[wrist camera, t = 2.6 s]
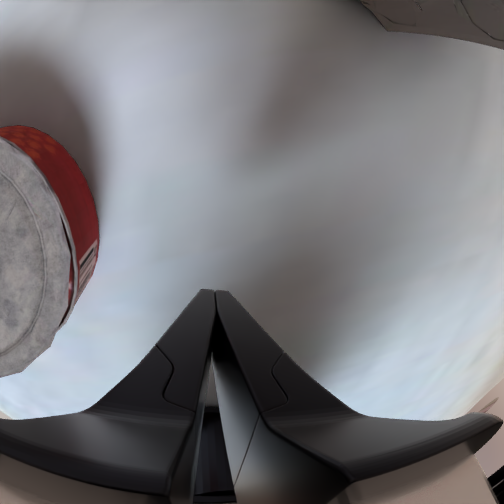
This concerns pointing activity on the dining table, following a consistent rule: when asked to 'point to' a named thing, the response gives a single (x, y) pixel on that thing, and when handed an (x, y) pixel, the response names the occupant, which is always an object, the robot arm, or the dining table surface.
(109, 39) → the dining table surface
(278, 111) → the dining table surface
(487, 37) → the electrical switch
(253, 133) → the dining table surface
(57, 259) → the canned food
